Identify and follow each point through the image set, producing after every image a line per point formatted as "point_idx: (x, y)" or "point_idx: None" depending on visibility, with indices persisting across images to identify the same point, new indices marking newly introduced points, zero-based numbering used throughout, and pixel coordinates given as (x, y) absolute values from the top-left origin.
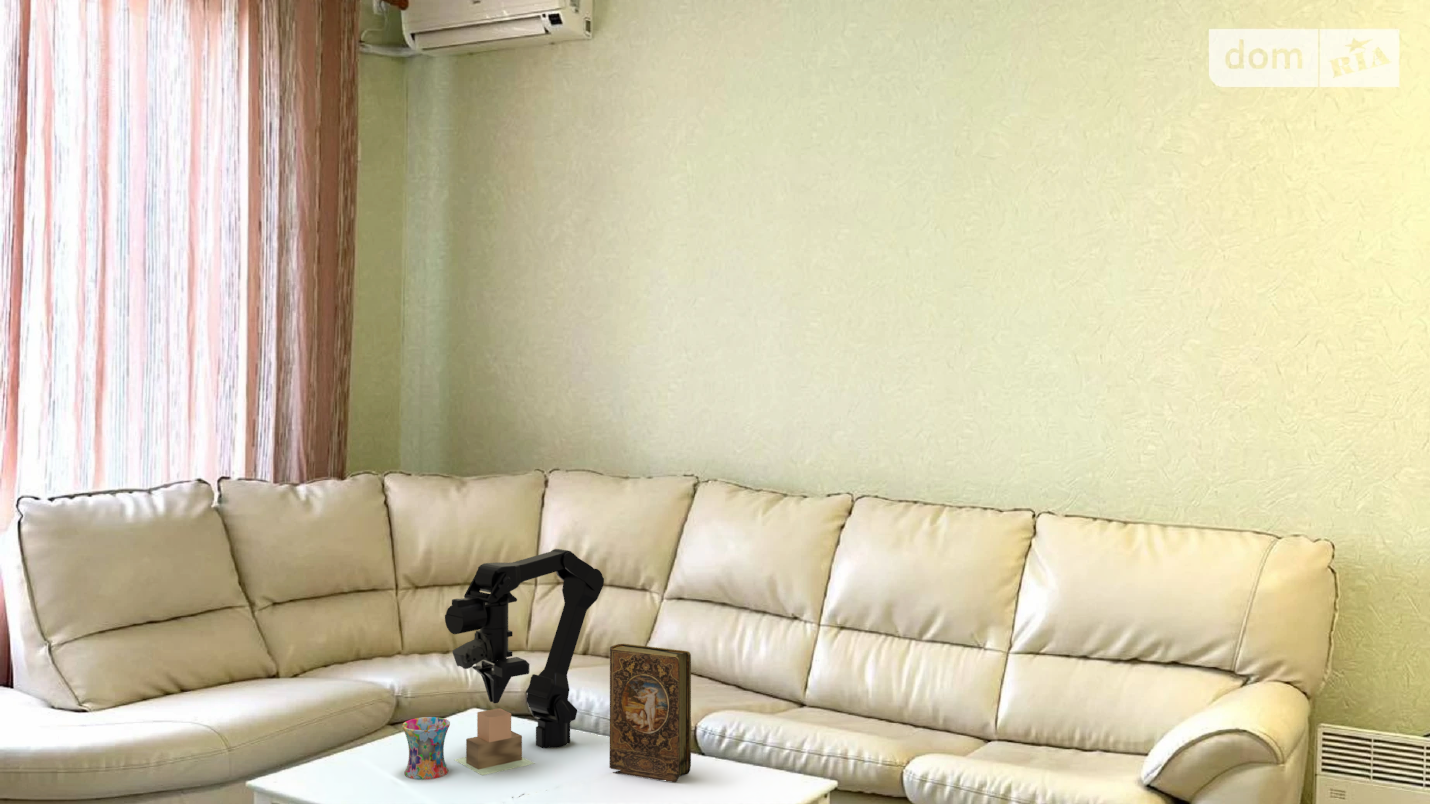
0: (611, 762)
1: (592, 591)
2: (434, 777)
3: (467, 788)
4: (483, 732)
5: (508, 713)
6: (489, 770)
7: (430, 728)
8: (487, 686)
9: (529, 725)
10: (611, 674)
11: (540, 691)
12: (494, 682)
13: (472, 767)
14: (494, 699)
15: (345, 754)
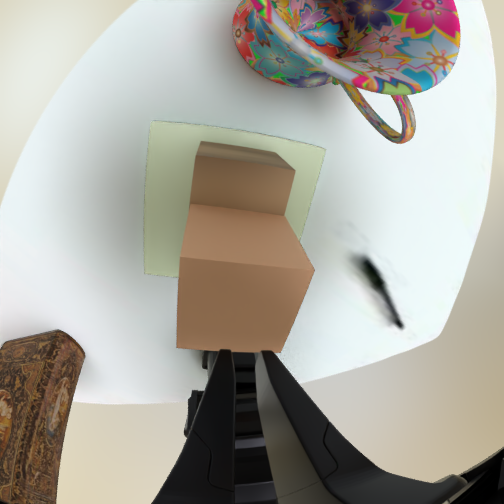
0: (51, 342)
1: None
2: (235, 12)
3: (123, 55)
4: (239, 221)
5: (185, 343)
6: (169, 159)
7: (396, 60)
8: (292, 426)
9: (349, 364)
10: (12, 482)
11: (235, 449)
12: (166, 481)
13: (229, 139)
14: (213, 368)
15: (494, 82)
